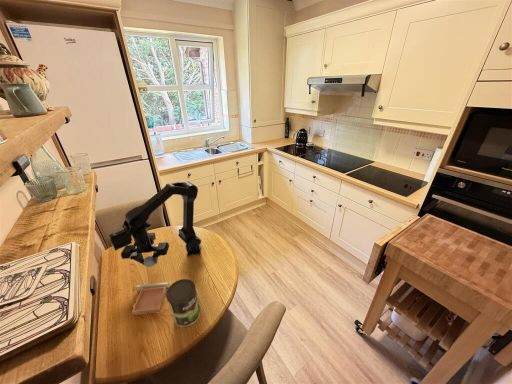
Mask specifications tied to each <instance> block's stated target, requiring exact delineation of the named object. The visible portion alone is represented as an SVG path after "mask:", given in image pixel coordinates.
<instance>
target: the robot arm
mask: <svg viewBox="0 0 512 384" xmlns="http://www.w3.org/2000/svg"><path fill="white" fill-rule="evenodd" d="M198 193H199V188H198V187H197V186H196V185H195V184H193V183H192V182H190V181H189V180H185V181H183V182H179V181H178V182H171V183H166V184H165V185H164V187H162V189H160V190H159V191H158V192H157V193H156V194H154V195H153V196H152V197H151V198H149V199H148V200H147V201H145V202H144V203H143V204H141V205H139V206H136V207H134V208H132V209H130V210H128V211H127V212H126V214H124V219H125V220H124V221H123V223H122V226H121V227H122V229H121V230H118V231H116V232H112V233H111V234H109V235H108V237H109V240H110V243H111V245H112V247H113V249H114V251H118V250H121V249H122V248H123V249H122V251H121V252H120V257H121V259H122V260H123V259H124V260H125V259H129V260H133V261H135V262H137V263H139V264H141V265H142V266H145V265H144V259H145V258H144V256H143V254H146V253H147V254H148V253H152V252H153V254H152V255H151V256H152V258H153V260H154V262H155V264H154V265H156V264H157V263H158V259H159V258H160V256H166V255H167V254H168V251H169V248H170V243H169V242H168V241H166V242H165V241H163V242H159V243H158V244H156V245H154V244H155V242H154V241H155V240H157V238H156V232H148V228H150V227H151V226H152V224H151V223H150V222H149V221H148V220H149V219H150V216H151V215H152V213H154V211H156V210H157V209H159V208H160V207H161V206H162V205H163V204H164V203H165V202H166V201H168V200H169V199H170V198H171V197H172V196H174V195H179V196H181V198H182V200H183V206H182V208H183V210H182V212H183V214H182V216H183V217H182V224H183V225H182V227H181V228H178V235H177V236H178V237H179V238H180V240H182V242H183V243H185V249H186V252H187V254H186V255H187V256H193V255H194V256H195V255H200V254H201V249H202V245H201V243H202V239H201V238H200V237H199V236H197V234H196V231H195V229H194V213H195V212H194V209H195V206H194V205H195V201H196V199H197V198H198ZM132 243H133V244H132Z"/></svg>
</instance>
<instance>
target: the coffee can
mask: <svg viewBox="0 0 512 384" xmlns="http://www.w3.org/2000/svg"><path fill="white" fill-rule="evenodd" d="M198 297H199V296H198V293H197V289H196V283H195V282H194V281H193V280H192V279H189V278H183V279H182V278H181V279H179V280H176V281H174V282H173V283H172V284H170V285H169V286H168V288H167V290H166V294H165V298H166V300H167V302H168V306H169V308H170V312H171V314H172V318H173V321H174V323H175V325H176V326H177V327H181V328H187V327H190V326H192V325H193V324H195V323H196V322H197V321H198V320H199V318H200V315H201V306H200V303H199V299H198Z"/></svg>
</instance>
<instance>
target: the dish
mask: <svg viewBox="0 0 512 384" xmlns="http://www.w3.org/2000/svg"><path fill="white" fill-rule="evenodd" d="M167 290H168V288H166V287H156V288H146V289H141V290H140V291H139V294H138V295H137V299H136V301H135V304H134V306H133V309H132V311H131V313H132V315H133V316H136V315H138V316H139V315H148V314H155V313H160V312H161V310H162V307H163V303H164V300H165V298H166V292H167Z"/></svg>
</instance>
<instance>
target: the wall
mask: <svg viewBox="0 0 512 384" xmlns="http://www.w3.org/2000/svg"><path fill="white" fill-rule="evenodd" d="M156 287H166V289H168V288H169V283H168V282H167V281H166V282H158V283H157V282H156V283H147V284H137V285H136V287H135V288H136V290H137V291H138V292H140V291H141V289H146V288H156Z"/></svg>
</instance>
